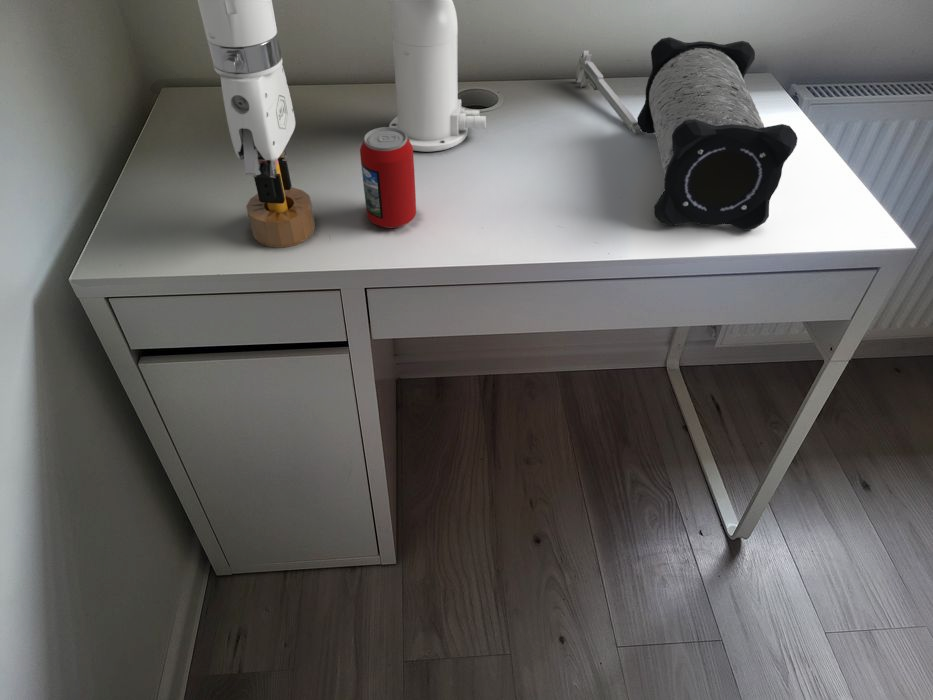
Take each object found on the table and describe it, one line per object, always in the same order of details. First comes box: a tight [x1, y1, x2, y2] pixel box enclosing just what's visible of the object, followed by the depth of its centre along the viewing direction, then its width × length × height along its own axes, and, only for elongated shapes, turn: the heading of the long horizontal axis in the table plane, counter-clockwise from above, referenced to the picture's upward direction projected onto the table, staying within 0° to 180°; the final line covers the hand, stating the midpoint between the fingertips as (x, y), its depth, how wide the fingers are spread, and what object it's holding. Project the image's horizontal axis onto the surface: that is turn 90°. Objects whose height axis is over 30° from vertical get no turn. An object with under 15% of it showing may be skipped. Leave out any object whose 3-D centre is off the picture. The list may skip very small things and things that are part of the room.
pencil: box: [258, 159, 288, 213], centre depth 91 cm, size 2×2×9 cm
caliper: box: [575, 49, 642, 134], centre depth 119 cm, size 20×1×6 cm, turn 22°
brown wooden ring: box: [246, 186, 316, 249], centre depth 94 cm, size 8×8×4 cm
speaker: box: [636, 36, 798, 231], centre depth 99 cm, size 15×28×15 cm, turn 176°
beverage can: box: [359, 126, 417, 229], centre depth 93 cm, size 7×7×12 cm
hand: (275, 194), depth 91 cm, fingers closed on pencil, 2 cm apart
